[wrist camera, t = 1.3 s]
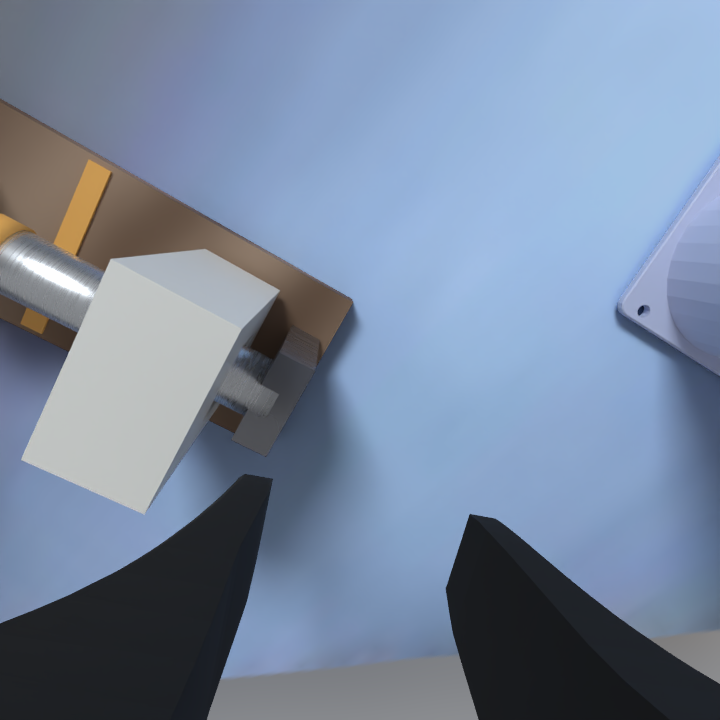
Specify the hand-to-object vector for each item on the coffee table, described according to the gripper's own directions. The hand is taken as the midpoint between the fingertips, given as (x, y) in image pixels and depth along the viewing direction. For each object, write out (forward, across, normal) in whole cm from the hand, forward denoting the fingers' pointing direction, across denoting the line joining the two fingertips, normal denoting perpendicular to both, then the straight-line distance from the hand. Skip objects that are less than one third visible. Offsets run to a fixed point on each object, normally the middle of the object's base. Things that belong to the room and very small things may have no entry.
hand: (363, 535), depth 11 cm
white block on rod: (+8, +6, -2) cm, 10 cm away
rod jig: (+10, +9, -3) cm, 14 cm away
